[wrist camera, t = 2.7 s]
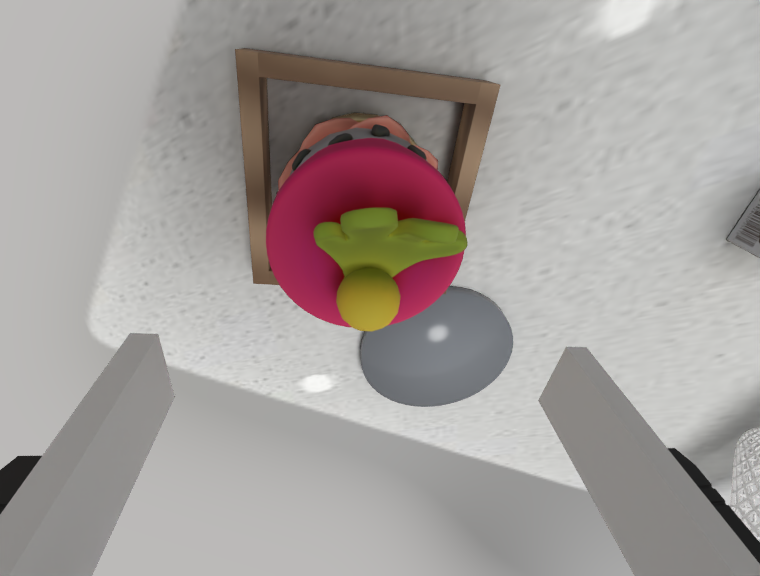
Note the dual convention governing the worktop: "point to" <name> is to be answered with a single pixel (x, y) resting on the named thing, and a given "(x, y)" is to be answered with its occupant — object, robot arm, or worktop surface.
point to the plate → (439, 351)
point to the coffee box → (748, 229)
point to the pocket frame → (355, 76)
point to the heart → (749, 469)
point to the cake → (364, 224)
